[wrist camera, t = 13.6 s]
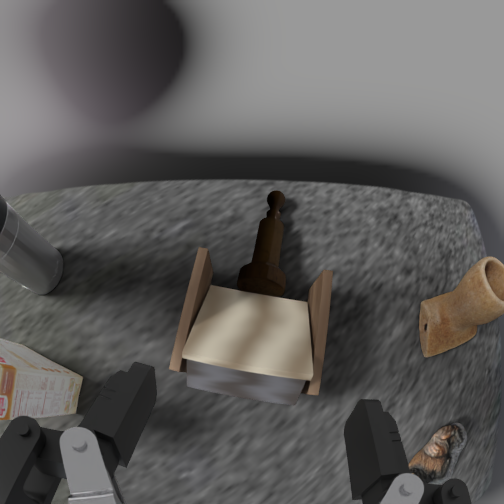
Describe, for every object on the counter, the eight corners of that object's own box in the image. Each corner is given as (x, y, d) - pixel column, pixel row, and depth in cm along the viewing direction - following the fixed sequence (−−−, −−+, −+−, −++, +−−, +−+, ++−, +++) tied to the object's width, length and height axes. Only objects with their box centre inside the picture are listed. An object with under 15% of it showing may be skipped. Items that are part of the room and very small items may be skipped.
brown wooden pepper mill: (266, 302, 43) (281, 211, 53) (294, 291, 39) (304, 194, 48) (228, 286, 41) (251, 193, 50) (253, 272, 36) (273, 173, 45)
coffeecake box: (15, 378, 34) (-64, 362, 16) (22, 343, 37) (-56, 314, 19) (76, 415, 33) (-8, 423, 15) (84, 376, 36) (-1, 364, 18)
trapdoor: (183, 385, 31) (182, 351, 29) (208, 317, 44) (211, 285, 41) (298, 405, 31) (313, 374, 28) (297, 333, 43) (307, 302, 41)
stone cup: (461, 280, 45) (511, 248, 32) (474, 338, 40) (531, 318, 27) (404, 292, 44) (457, 257, 30) (418, 360, 39) (479, 346, 25)
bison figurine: (452, 422, 34) (413, 418, 35) (478, 424, 28) (440, 422, 28) (431, 482, 30) (389, 483, 30) (455, 490, 23) (412, 496, 24)
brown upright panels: (182, 370, 38) (168, 369, 30) (205, 270, 44) (198, 247, 36) (302, 391, 37) (318, 395, 29) (316, 290, 44) (332, 271, 36)
